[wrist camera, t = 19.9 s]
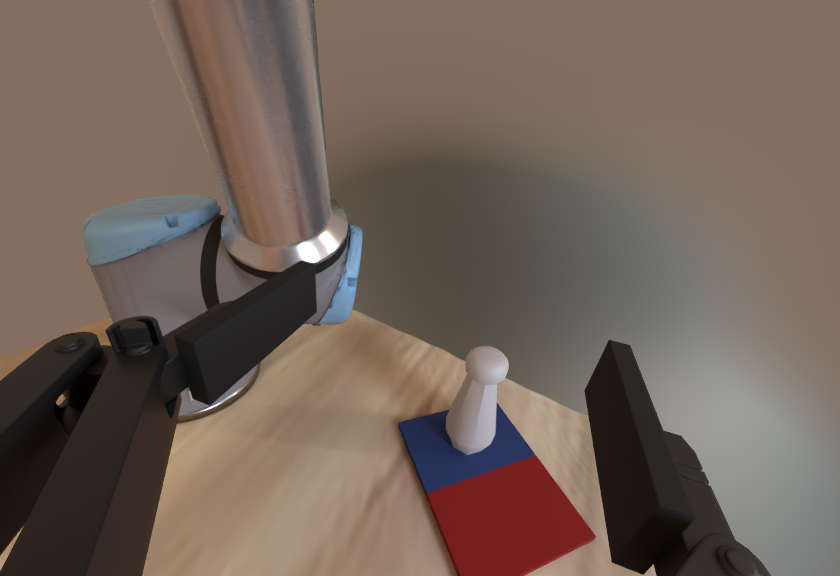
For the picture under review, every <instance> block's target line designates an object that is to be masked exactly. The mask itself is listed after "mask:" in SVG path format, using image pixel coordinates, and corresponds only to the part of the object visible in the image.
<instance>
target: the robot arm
mask: <svg viewBox="0 0 840 576" xmlns="http://www.w3.org/2000/svg"><path fill="white" fill-rule="evenodd" d="M148 2H149V5H150V7H151V10H152V13H153V15H154V17H155V20H156V23H157V25H158V28H159V30H160V33H161V35H162V38H163V40H164V43H165V46H166V48H167V51H168V53H169V56H170V58H171V61H172V63H173V66H174V69H175V71H176V74H177V76H178V79H179V81H180V84H181V86H182V89H183V91H184V94H185V97H186V99H187V102H188V104H189V107H190V109H191V112H192V115H193V117H194V120H195V122H196V124H197V127H198V130H199V132H200V135H201V137H202V140H203V143H204V145H205V148H206V150H207V153H208V155H209V158H210V160H211V163H212V166H213V168H214V170H215V173H216V176H217V178H218V181H219V183H220V186H221V189H222V191H223V193H224V196H225V199H226V201H227V204H228V206H229V210H228V211H227V213H226V214H225V216H224V215H221V214H220V212H221V207H220V206H219V205H218V203H217V201H215V199H213V198H211V197H207V196H204V195H192V194H191V195H190V194H186V195H169V196H159V197H151V198H146V199H140V200H134V201H130V202H125V203H121V204H117V205H114V206H111V207H108V208H105V209H102V210H100V211H98V212H96V213H94V214H92V215H91V216H90V217H88V218H87V219H86V220H85V222H84V223H83V225H82V229H81V230H82V231H81V234H82V237H83V241H84V245H85V248H86V251H87V255H88V259H87V263H88V264H89V265H90V267H91V269H92V271H93V274H94V276H95V279H96V281H97V284H98V286H99V289H100V291H101V293H102V296H103V299H104V301H105V303H106V306H107V308H108V311H109V313H110V316H111V318H112V321H113V323H114V324H112V325H110V326H109V327H108V328H107V329H106V330H105V331H106V333H107V336H108V338H109V341H110V343H111V345H112V346H105V345H101V344H100V342H99V340H98V337H97V335H95V334H93V333H90V332H77V333H70V334H66V335H63V336H61V337H58V338H56V339H53V340H52V341H50V342H49V343H47V344H45V345H44V346H43V347H42V348H40V349H39V350H38V351H37V352H35V353H34V354H33V355H32V356H31V357H29V358H28V359H27V360H26V361H24V362H23V363H22V364H21V365H19V366H18V367H17V368H16V369H14V370H13V371H12V372H11V373H9V374H8V375H7V376H6V377H4V378H3V379H2V380H1V381H0V555H1V554H2V553H3V551H4V550H5V549H6V547H7V546H8V545H9V544H10V542H11V541H12V540H13V538H14V537H15V536H16V535H17V533H18V532H19V531H20V529H21V528H22V527H23V526H24V527H23V529H22V531H21V533H20V534H19V536H18V538H17V540H16V542H15V544H14V546H13V548H12V550H11V552H10V554H9V556H8V558H7V560H6V562H5V563H4V565H3V567H2V569H1V571H0V576H142V574H143V569H144V565H145V560H146V556H147V552H148V547H149V543H150V538H151V534H152V530H153V525H154V521H155V517H156V512H157V508H158V503H159V499H160V495H161V490H162V486H163V481H164V477H165V473H166V468H167V464H168V459H169V455H170V451H171V446H172V442H173V438H174V433H175V429H176V424H177V423H181V422H186V421H191V420H195V419H198V418H202V417H205V416H207V415H210V414H212V413H215V412H217V411H219V410H221V409H223V408H225V407H227V406H228V405H230V404H232V403H233V402H235V401H236V400H237V399H239V398H240V397H241V396H242V395H244V394H245V393H246V392H247V391H248V390H249V389H250V387H251V386H252V385H253V383H254V382H255V380H256V378H257V376H258V374H259V370H260V362H261V361H262V360H263V359H264V358H265V357H266V356H267V355H269V354H270V353H271V352H272V351H273V350H274V349H275V348H277V347H278V346H279V345H280V344H281V343H282V342H283V341H285V340H286V339H287V338H288V337H289V336H290V335H291V334H293V333H294V332H295V331H296V330H297V329H298V328H299V327H300V326H302V325H303V324H312V325H315V326H319V325H321V324H340V323H343V322H345V321H346V320H347V319H348V318H349V317H350V315H351V312H352V309H353V304H354V299H355V293H356V287H357V282H356V281H357V279H358V273H359V267H360V258H361V249H362V231H361V229H360V228H359V227H357V226H353V225H352V224H348V223H347V218H346V215H345V212H344V210H343V208H342V207H341V206H340V205H339V203H338V202H336V201H335V200H334V199H333V198H332V197H330V191H329V179H328V168H327V156H326V144H325V132H324V120H323V108H322V96H321V84H320V72H319V61H318V48H317V36H316V25H315V12H314V0H148ZM62 393H63V395H64V397H65V400H64V401H63V402H62V403H61V404H60V405H59V406H58V405H57V404H56V403H55V402H56V401H57V399H58V398H59V396H60V395H61V394H62ZM585 396H586V403H587V408H588V415H589V421H590V428H591V434H592V440H593V447H594V453H595V459H596V465H597V472H598V478H599V484H600V490H601V497H602V503H603V509H604V515H605V522H606V528H607V534H608V541H609V547H610V553H611V559H612V563H615V564H617V565H620V566H622V567H625V568H627V569H630V570H633V571H635V572H638V573H640V574H644V573H645V572H646V571H647V570H648V569H649V568H650V567H651V566H652V565H653V564H654V567H655V571H656V575H657V576H771V575H770V574H769V572H768V571H767V569H766V568H765V567H764V565H763V564H762V562H761V561H760V560H759V559H758V558H757V557H756V556H755V555H753V554H752V552H751V551H749V549H747V548H746V547H744V546H743V545H741V544H740V543H739V542H737V541H736V540H735V538H734V536H733V534H732V532H731V530H730V528H729V525H728V523H727V521H726V519H725V517H724V515H723V512H722V510H721V508H720V506H719V503H718V501H717V499H716V497H715V495H714V493H713V490H712V488H711V486H709V482H708V480H707V477H706V475H705V473H704V472H702V467H701V464H700V462H699V460H698V458H697V456H696V453H695V452H694V451H693V449H692V448H691V447H690V446H689V445H688V443H687V442H686V441H685V440H684V439H683V438H682V436H679V435H676V434H673V433H670V432H666V431H663V429H662V426H661V424H660V421H659V419H658V416H657V413H656V411H655V408H654V406H653V403H652V401H651V398H650V395H649V393H648V390H647V388H646V385H645V383H644V380H643V377H642V375H641V372H640V370H639V367H638V364H637V362H636V359H635V357H634V354H633V352H632V349H631V346H630V345H627V344H623V343H619V342H615V341H611V340H609V341H608V343H607V345H606V348H605V349H604V352H603V354H602V356H601V358H600V360H599V362H598V364H597V366H596V368H595V370H594V372H593V375H592V376H591V379H590V380H589V383H588V385H587V387H586V389H585ZM24 524H25V525H24Z"/></svg>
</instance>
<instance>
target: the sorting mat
mask: <svg viewBox="0 0 840 576" xmlns="http://www.w3.org/2000/svg"><path fill="white" fill-rule="evenodd" d="M448 412H449V410H447V411H443V412H439V413H435V414H431V415H427V416H423V417H419V418H415V419H411V420H407V421H403V422H399V423H398V427H399V430H400V432H401V435H402V437H403V440H404V442H405V445H406V447H407V450H408V452H409V455H410V457H411V460H412V462H413V465H414V467H415V470H416V472H417V475H418V477H419V480H420V482H421V485H422V487H423V489H424V492H425V494H426V496H427V499H428V502H429V504H430V507H431V509H432V512H433V514H434V517H435V519H436V522H437V524H438V527H439V529H440V532H441V534H442V537H443V539H444V542H445V544H446V547H447V549H448V552H449V554H450V557H451V559H452V562H453V564H454V566H455V569H456V571H457V574H458V576H524V575H526V574H528V573H530V572H532V571H534V570H536V569H538V568H540V567H542V566H544V565H546V564H548V563H550V562H551V561H553V560H555V559H557V558H559V557H561V556H563V555H565V554H567V553H569V552H571V551H573V550H575V549H577V548H579V547H581V546H583V545H585V544H587V543H588V542H590V541H592V540H594V539H595V537H596V536H595V535H594V534H593V532H592V531H591V529H590V528H589V527H588V525H587V524H586V523H585V521H584V520H583V519H582V517H581V516H580V515H579V513H578V512H577V511H576V509H575V508H574V506H573V505H572V504H571V502H570V501H569V500H568V498H567V497H566V496H565V494H564V493H563V492H562V490H561V489H560V488H559V486H558V485H557V483H556V482H555V481H554V479H553V478H552V477H551V475H550V474H549V473H548V471H547V470H546V469H545V467H544V466H543V465H542V463H541V462H540V460H539V459H538V458H537V456H535V454H534V452H533V451H532V450H531V448H530V447H529V446H528V444H527V443H526V442H525V440H524V439H523V437H522V436H521V435H520V433H519V432H518V431H517V429H516V428H515V427H514V425H513V424H512V423H511V421H510V420H509V419H508V417H507V416H506V414H505V413H504V412H503V410H502V409H501V408H500V406H499V405H498V404H497V408H496V433H495V436H494V438H493V440H492V442H491V444H490V445H489V446H487V447H486V448H485V449H483V450H482V451H480V452H476V453H473V454H469V455H466V454H464V453H463V452H461V451H459V450H457V449H456V448H454V447H453V446H452V442H451V439H450V437H449V435H448V433H447V431H446V416H447V414H448Z"/></svg>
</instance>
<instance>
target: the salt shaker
mask: <svg viewBox="0 0 840 576" xmlns="http://www.w3.org/2000/svg"><path fill="white" fill-rule="evenodd" d="M508 367H509V364H508V359H507V358H506V357H505V356H504V355H503V353H502V352H501V351H499V350H497V349H496V348H493V347H490V346H479V347H476V348H473V349H472V350H471V351H470V352H469V354H468V356H467V358H466V371H467V373H468V374H467V376H466V378H465V380H464V382H463V384H462V386H461V388H460V390H459V392H458V394H457V396H456V398H455V400H454V402H453V404H452V406H451V408H450V410H449V412H448V414H447V416H446V431H447V433H448V435H449V437H450V439H451V442H452V446H453V447H454V448H456V449H457V450H459V451H461V452H463V453H464V454H466V455H469V454H473V453H476V452H480V451H482V450H483V449H485V448H486V447H487V446H489V445H490V444H491V442H492V440H493V438H494V436H495V433H496V408H497V385H498V384H499V383H501V382H502V381H503V380H504V378H505V376H506V374H507V372H508Z"/></svg>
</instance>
